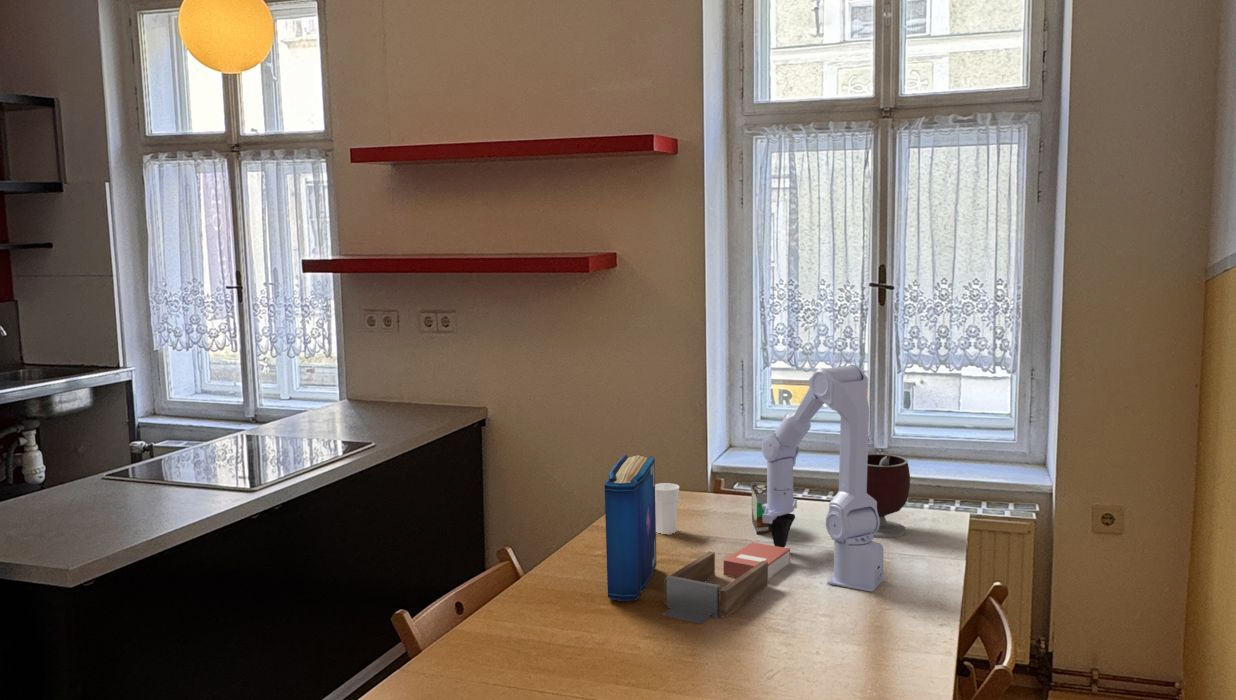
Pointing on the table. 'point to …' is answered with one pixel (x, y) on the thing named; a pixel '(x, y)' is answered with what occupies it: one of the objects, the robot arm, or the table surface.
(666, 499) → the cup
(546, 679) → the table surface
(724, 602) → the brown wooden drawer
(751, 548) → the boxed book
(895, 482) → the mate gourd
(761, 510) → the food container
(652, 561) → the book
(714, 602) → the bookend
